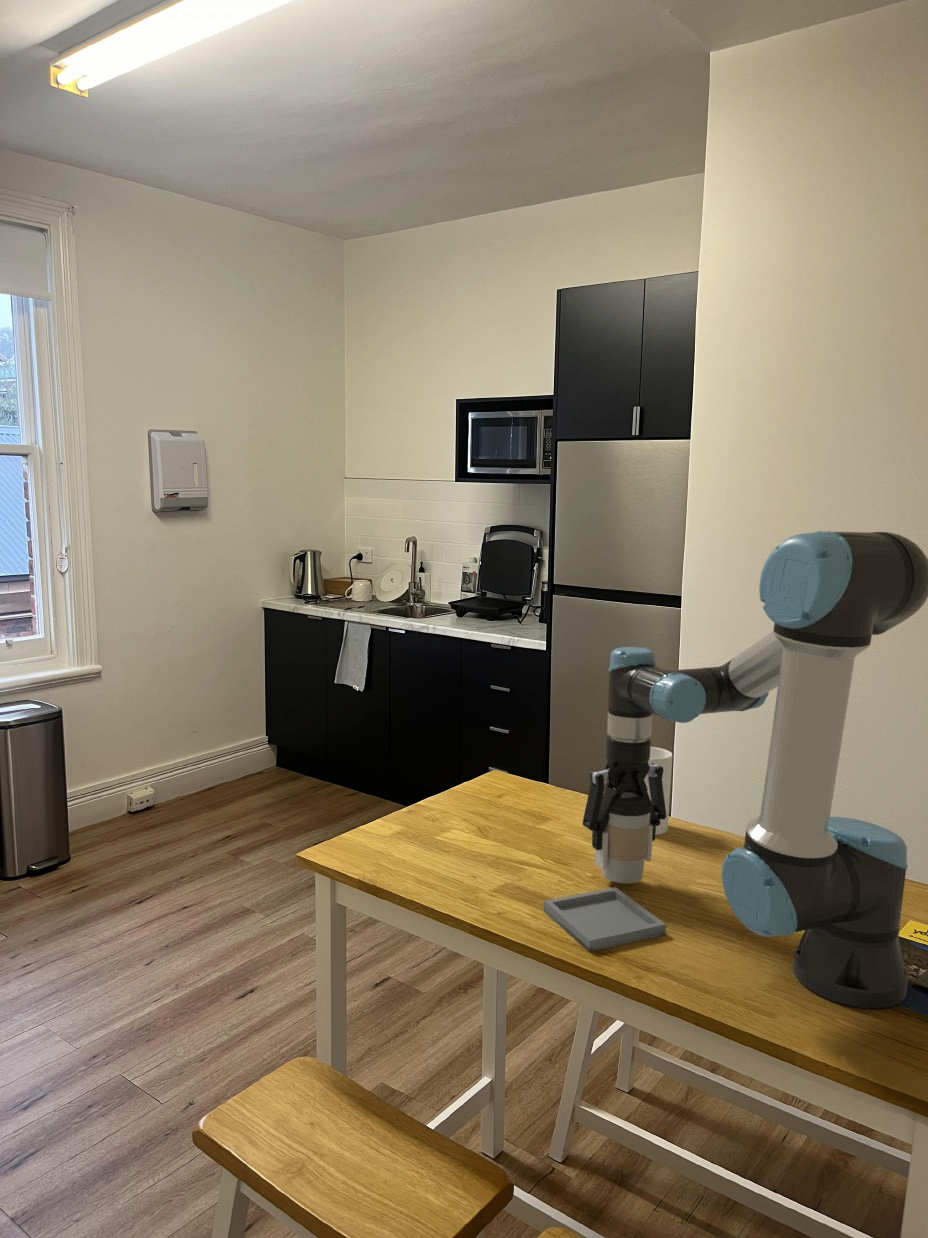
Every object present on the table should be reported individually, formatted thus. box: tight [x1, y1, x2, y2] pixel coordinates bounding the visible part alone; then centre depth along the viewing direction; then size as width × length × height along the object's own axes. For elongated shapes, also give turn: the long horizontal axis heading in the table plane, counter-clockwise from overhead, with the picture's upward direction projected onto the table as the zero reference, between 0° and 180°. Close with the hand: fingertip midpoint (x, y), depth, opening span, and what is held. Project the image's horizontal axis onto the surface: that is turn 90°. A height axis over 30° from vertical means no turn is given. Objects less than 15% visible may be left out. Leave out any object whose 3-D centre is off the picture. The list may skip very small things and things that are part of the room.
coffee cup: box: [602, 790, 652, 884], centre depth 159 cm, size 9×9×15 cm
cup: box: [644, 746, 673, 836], centre depth 186 cm, size 8×8×16 cm
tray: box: [543, 887, 667, 953], centre depth 146 cm, size 14×14×2 cm
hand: (623, 862), depth 160 cm, fingers closed on coffee cup, 8 cm apart
